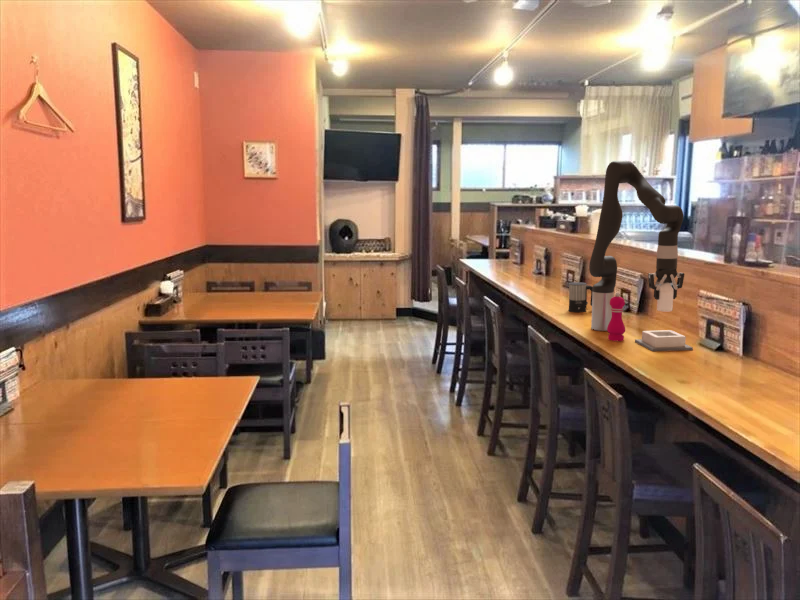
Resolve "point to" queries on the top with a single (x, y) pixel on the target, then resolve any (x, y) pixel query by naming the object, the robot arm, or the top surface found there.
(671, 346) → the holder
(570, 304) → the milk frother
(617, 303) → the pepper mill
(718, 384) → the top surface
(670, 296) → the white pointed cylinder
